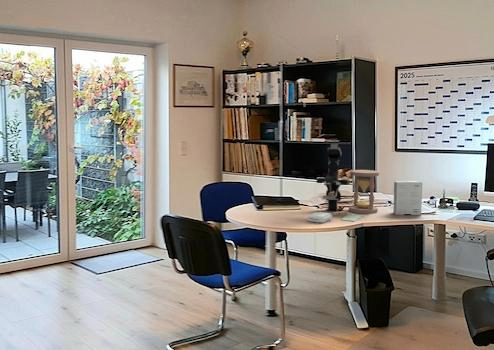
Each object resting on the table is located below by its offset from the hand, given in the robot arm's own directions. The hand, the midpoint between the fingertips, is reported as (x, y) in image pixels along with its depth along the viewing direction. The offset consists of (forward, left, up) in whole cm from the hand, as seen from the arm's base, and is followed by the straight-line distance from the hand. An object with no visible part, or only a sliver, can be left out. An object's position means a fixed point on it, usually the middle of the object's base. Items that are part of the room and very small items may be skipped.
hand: (332, 195), depth 315 cm
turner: (+3, 0, -1) cm, 3 cm away
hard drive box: (-25, +40, -12) cm, 48 cm away
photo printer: (+14, -1, -10) cm, 17 cm away
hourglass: (-22, +14, -12) cm, 29 cm away
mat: (+3, +13, -12) cm, 18 cm away
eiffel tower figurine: (-57, +58, -13) cm, 82 cm away
